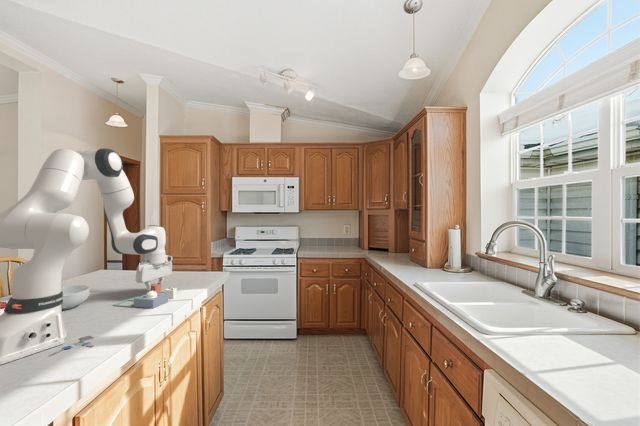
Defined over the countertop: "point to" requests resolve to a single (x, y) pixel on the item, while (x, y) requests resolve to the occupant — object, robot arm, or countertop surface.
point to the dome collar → (150, 301)
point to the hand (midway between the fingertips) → (154, 288)
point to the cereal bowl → (74, 296)
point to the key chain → (79, 344)
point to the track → (129, 300)
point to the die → (171, 292)
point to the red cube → (156, 288)
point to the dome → (151, 294)
